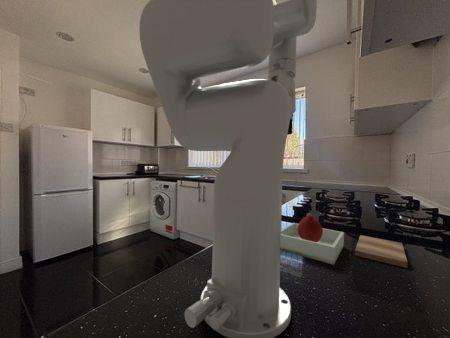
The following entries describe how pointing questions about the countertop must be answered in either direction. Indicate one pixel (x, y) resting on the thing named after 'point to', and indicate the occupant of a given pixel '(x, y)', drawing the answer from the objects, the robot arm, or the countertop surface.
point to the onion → (310, 229)
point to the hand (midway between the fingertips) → (280, 131)
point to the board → (381, 250)
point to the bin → (313, 244)
